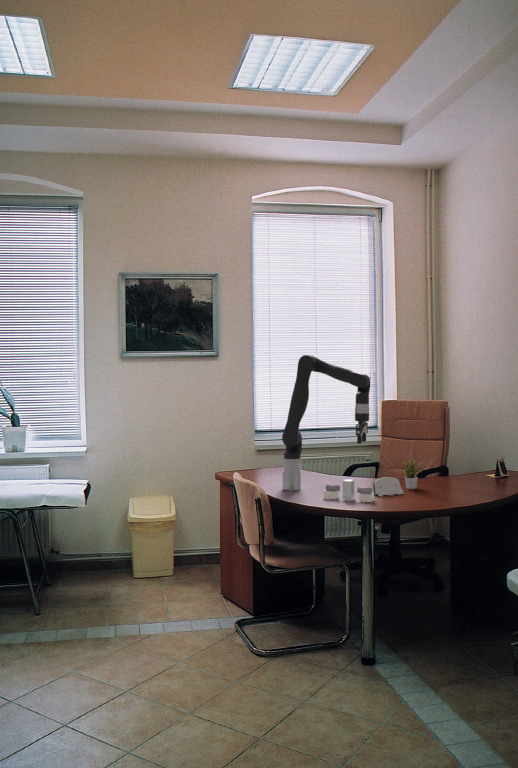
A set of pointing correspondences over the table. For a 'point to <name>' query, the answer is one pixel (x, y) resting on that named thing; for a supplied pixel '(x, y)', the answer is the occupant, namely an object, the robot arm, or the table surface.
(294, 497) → the table surface
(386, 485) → the grey rounded block
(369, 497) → the white and grey block
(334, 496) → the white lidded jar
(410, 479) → the house plant
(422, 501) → the table surface
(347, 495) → the coupler
